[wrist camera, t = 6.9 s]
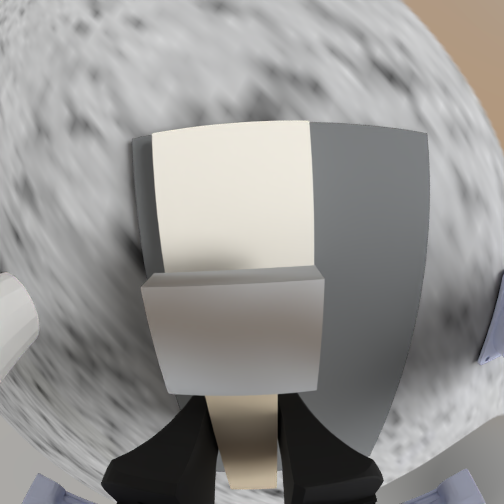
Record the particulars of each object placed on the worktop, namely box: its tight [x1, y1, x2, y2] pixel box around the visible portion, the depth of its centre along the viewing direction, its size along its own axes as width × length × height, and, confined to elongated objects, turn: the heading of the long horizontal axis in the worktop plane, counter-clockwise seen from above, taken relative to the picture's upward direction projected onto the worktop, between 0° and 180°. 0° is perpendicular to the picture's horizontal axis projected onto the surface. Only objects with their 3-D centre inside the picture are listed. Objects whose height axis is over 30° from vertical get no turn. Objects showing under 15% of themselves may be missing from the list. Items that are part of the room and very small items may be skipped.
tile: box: [152, 121, 314, 273], centre depth 11 cm, size 6×1×6 cm
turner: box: [140, 265, 325, 489], centre depth 11 cm, size 12×5×5 cm, turn 3°
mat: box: [132, 122, 430, 472], centre depth 14 cm, size 14×24×1 cm, turn 3°
